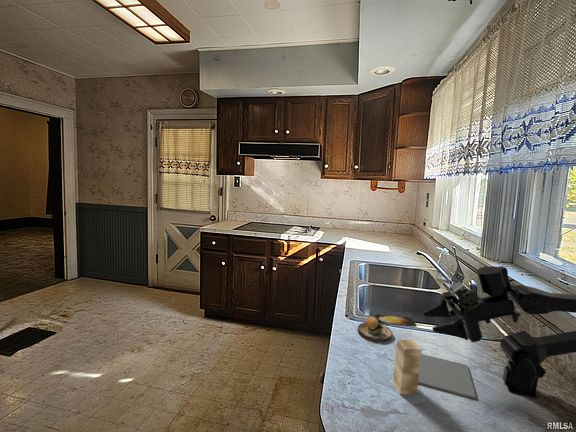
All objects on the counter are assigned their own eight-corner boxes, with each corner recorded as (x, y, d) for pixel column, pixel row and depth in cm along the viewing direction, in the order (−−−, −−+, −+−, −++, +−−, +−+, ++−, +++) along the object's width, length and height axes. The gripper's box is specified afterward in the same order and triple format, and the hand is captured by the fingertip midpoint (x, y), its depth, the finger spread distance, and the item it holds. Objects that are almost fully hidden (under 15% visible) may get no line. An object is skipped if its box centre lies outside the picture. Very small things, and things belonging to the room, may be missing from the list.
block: (409, 382, 85) (413, 339, 83) (416, 394, 80) (421, 349, 79) (393, 382, 85) (397, 339, 83) (400, 394, 80) (404, 349, 78)
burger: (393, 345, 104) (395, 324, 102) (357, 340, 106) (359, 319, 105) (389, 328, 115) (391, 309, 114) (357, 324, 117) (358, 305, 116)
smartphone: (417, 326, 117) (377, 322, 118) (417, 328, 117) (376, 324, 118) (411, 317, 124) (373, 314, 125) (411, 319, 124) (373, 315, 125)
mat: (467, 366, 93) (467, 364, 93) (475, 399, 79) (476, 397, 79) (403, 351, 100) (403, 349, 100) (401, 379, 86) (401, 377, 86)
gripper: (465, 269, 92) (412, 283, 95) (496, 293, 74) (429, 309, 77) (476, 304, 93) (422, 316, 96) (509, 336, 74) (441, 350, 78)
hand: (428, 321), depth 86 cm, fingers open, 9 cm apart
